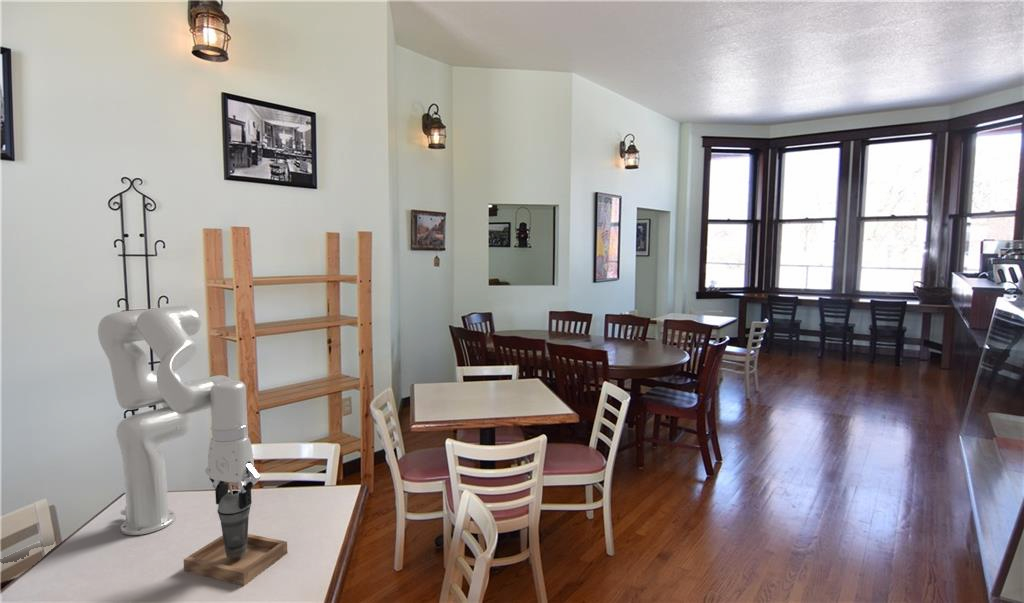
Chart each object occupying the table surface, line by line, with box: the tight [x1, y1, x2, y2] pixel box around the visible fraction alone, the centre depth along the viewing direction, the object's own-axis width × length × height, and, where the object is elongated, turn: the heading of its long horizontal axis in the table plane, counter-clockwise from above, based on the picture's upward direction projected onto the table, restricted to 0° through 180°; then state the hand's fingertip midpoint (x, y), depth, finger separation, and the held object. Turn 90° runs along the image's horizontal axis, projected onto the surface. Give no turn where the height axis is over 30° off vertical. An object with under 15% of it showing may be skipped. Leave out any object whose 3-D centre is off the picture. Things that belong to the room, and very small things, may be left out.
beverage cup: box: [217, 482, 252, 558], centre depth 132 cm, size 7×7×20 cm
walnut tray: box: [183, 533, 288, 586], centre depth 133 cm, size 18×14×3 cm
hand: (233, 503), depth 132 cm, fingers closed on beverage cup, 6 cm apart
